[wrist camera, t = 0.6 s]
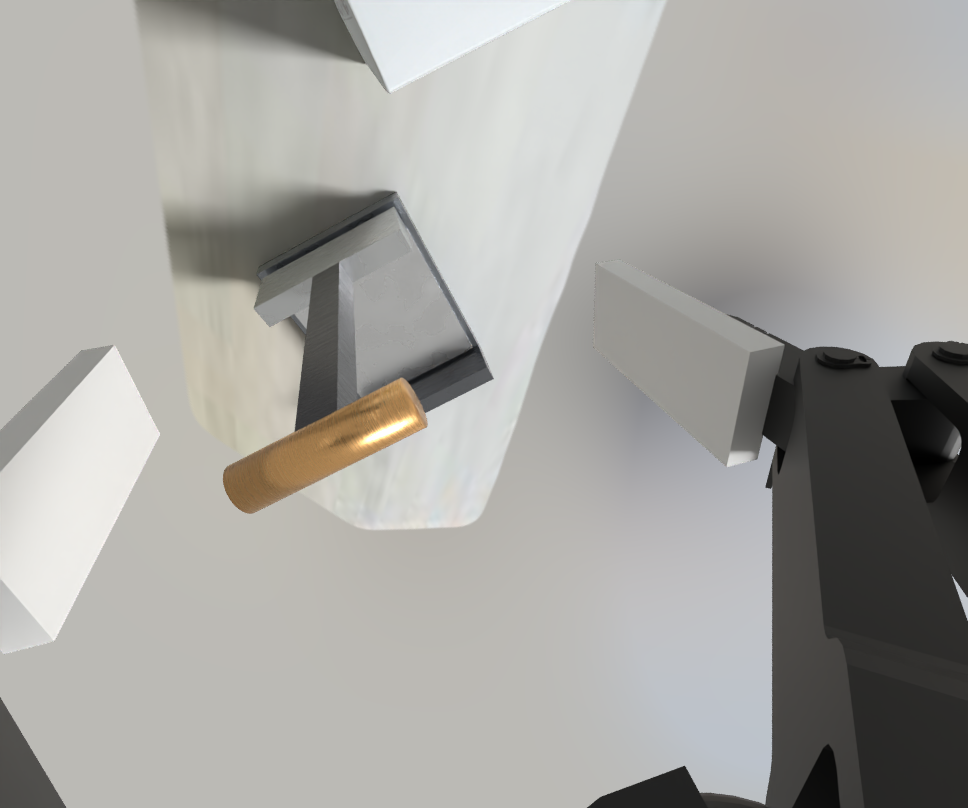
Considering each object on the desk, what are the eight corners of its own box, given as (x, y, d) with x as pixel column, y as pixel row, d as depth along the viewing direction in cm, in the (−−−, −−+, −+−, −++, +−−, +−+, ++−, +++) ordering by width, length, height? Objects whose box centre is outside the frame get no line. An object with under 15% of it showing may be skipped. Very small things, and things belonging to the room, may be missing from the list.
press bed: (396, 191, 38) (402, 212, 34) (481, 348, 48) (493, 378, 44) (259, 266, 39) (249, 295, 35) (369, 405, 49) (372, 439, 45)
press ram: (391, 202, 36) (439, 381, 19) (407, 229, 38) (464, 420, 20) (260, 274, 37) (185, 509, 20) (279, 298, 39) (226, 539, 21)
